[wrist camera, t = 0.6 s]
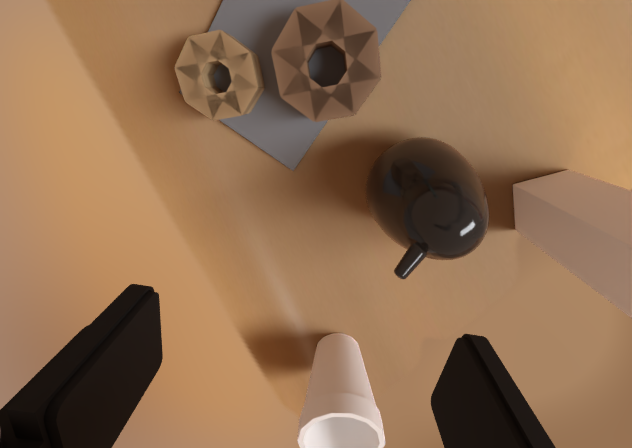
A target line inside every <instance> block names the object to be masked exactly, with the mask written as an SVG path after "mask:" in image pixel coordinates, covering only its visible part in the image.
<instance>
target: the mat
mask: <svg viewBox="0 0 632 448" xmlns="http://www.w3.org/2000/svg"><path fill="white" fill-rule="evenodd" d="M324 1H328V0H223V2H222V4H221V6H220V8H219V10H218V12H217V14H216V16H215V18H214V20H213V22H212V24H211V27H210V29H209V31H208V32H211V31H216V30H222V31H224V32H226V33H228V34H229V35H231V36H233V37H234V38H236V39H237V40H238V41H240V42H241V43H242V44H244V45H245V46H246V47H247V48H249V49H250V50H251V51H253V52H254V53H255V54H257V55H258V57H259V62H260V66H261V71H262V76H263V80H264V85H265V87H264V88H265V89H264V91H263V92H262V94H261V96H260V97H259V99H258V101H257V103H256V104H255V106H254V108H253V109H252V111H251V112H250V113H248V114H245V115H242V116H236V117H231V118H225V119H220V121H221V122H223V123H224V124H226V125H227V126H229V127H230V128H232V129H233V130H234V131H236V132H237V133H239V134H240V135H242V136H243V137H245V138H246V139H248V140H249V141H250V142H252V143H253V144H255V145H256V146H258V147H259V148H261V149H262V150H263V151H265V152H266V153H268V154H269V155H271V156H272V157H274V158H275V159H277V160H278V161H279V162H281V163H282V164H284V165H285V166H287V167H288V168H290V169H291V170H292V171H294V169H295V168H296V166H297V165H298V163H299V162H300V160H301V159H302V157H303V156H304V155H305V153H306V152H307V150H308V149H309V147H310V146H311V144H312V143H313V141H314V140H315V139H316V137H317V136H318V134H319V133H320V131H321V130H322V128H323V127H324V126H325V124H326V123H327V121H328V120H325V121H320V122H315V121H314V122H313V121H312V120H310V119H309V118H308V117H306V116H305V115H304V114H302V113H301V112H300V111H298V110H297V109H296V108H294V107H293V106H292V105H290V104H289V103H288V102H286V101H285V100H283V99H282V98H281V97H282V96H280V93H279V88H278V83H277V78H276V73H275V68H274V63H273V58H272V53H271V51H272V48H273V46H274V44H275V43H276V41H277V39H278V37H279V36H280V34H281V32H282V30H283V28H284V27H285V25H286V23H287V21H288V20H289V18H290V16H291V14H292V13H293V11H294V9H296V7H301V6H305V5H310V4H315V3H319V2H324ZM344 1H345V2H346V3H348V4H349V5H350V6H351V7H352V8H353V9H355V10H356V11H357V12H358V13H359V14H360V15H362V16H363V17H364V18H365V19H366V20H367V21H369V22H370V23H371V24H372V25H373V26H374V27H376V28H377V29H376V30H377V32H378V44H379V46H380V44H381V43H382V41H383V40H384V38H385V37H386V35H387V34H388V33H389V31H390V30H391V28H392V27H393V25H394V24H395V22H396V21H397V19H398V18H399V17H400V15H401V14H402V12H403V11H404V9H405V8H406V6H407V5H408V3H409V2H410V1H411V0H344ZM309 69H310V76H311V79H312V80H314V81H315V82H316V83H317V84H319V85H320V86H321V87H327V86H332V85H337V83H338V82H339V80H340V79H341V77H342V76H343V74H344V73H345V67H344V59H343V55H341V54H340V53H339V52H338V51H336V50H335V49H334V48H333V47H332V46H330V47H326V48H321V49H317V50H316V51H315V53H314V55H313V56H312V58H311V59H310V61H309ZM214 78H215V81H216V85H217V87H218V88H219V89H221V90H222V91H223V92H227V90H228V88H229V86H230V84H231V82H232V80H231V76H230V72H229V68H228V67H226V66H225V65H219V66H218V68H217V70H216V72H215V74H214ZM179 93H181V94H182V91H181V89H180V91H179ZM182 95H183V94H182Z"/></svg>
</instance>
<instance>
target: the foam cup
mask: <svg viewBox="0 0 632 448" xmlns="http://www.w3.org/2000/svg"><path fill="white" fill-rule="evenodd" d="M298 444H299V446H300V448H383V447H384V445H385V437H384V431H383V425H382V420H381V416H380V412H379V409H378V408H377V407H376V404H375V400H374V397H373V394H372V390H371V387H370V383H369V380H368V376H367V373H366V370H365V366H364V363H363V359H362V356H361V352H360V349H359V346H358V343H357V342H356V341H355V340H354V339H353V338H352V337H351V336H348V335H346V334H343V333H332V334H330V335H327V336H324V337H323V338H322V339H321V340H320V341H319V342H318V344H317V348H316V352H315V356H314V361H313V366H312V370H311V375H310V380H309V385H308V389H307V394H306V399H305V404H304V407H303V409H302V412H301V416H300V419H299V429H298Z"/></svg>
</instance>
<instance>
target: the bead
mask: <svg viewBox="0 0 632 448" xmlns="http://www.w3.org/2000/svg"><path fill="white" fill-rule="evenodd" d="M376 29H377V28H376V27H374V26H373V25H372V24H371V23H370V22H369V21H367V20H366V19H365V18H364V17H363V16H362V15H360V14H359V13H358V12H357V11H356V10H355V9H353V8H352V7H351V6H350V5H349V4H348V3H346V2H345V1H344V0H328V1H324V2H319V3H315V4H310V5H305V6H301V7H296V9H294V11H293V13H292V14H291V16H290V18H289V20H288V21H287V23H286V25H285V27H284V28H283V30H282V32H281V34H280V36H279V37H278V39H277V41H276V43H275V44H274V46H273V48H272V51H271V53H272V58H273V63H274V68H275V73H276V78H277V83H278V88H279V93H280V96H282V97H281V98H282V99H283V100H285V101H286V102H288V103H289V104H290V105H292V106H293V107H294V108H296V109H297V110H298V111H300V112H301V113H302V114H304V115H305V116H306V117H308V118H309V119H310V120H312V121H313V122H314V121H315V122H320V121H325V120H331V119H336V118H342V117H348V116H353V115H354V114H356V113H357V111H358V110H359V109H360V107H361V106H362V104H363V103H364V102H365V100H366V99H367V97H368V96H369V95H370V93H371V92H372V91H373V89H374V88H375V86H376V85H377V84H378V82H379V81H380V78H381V68H380V56H379V44H378V32H377V30H376ZM330 46H332V47H333V48H334V49H335V50H336V51H338V52H339V53H340V54H341V55H343V59H344V67H345V73H344V74H343V76H342V77H341V79H340V80H339V82H338V83H337V85H332V86H327V87H321V86H320V85H319V84H317V83H316V82H315V81H314V80H312V79H311V76H310V69H309V61H310V59H311V58H312V56H313V55H314V53H315V51H316V50H317V49H321V48H326V47H330Z"/></svg>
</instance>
